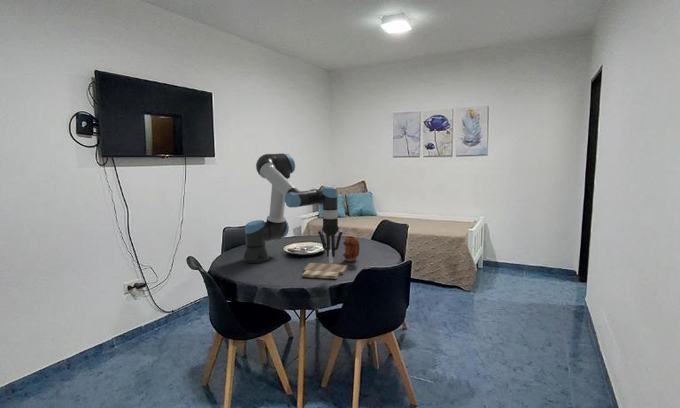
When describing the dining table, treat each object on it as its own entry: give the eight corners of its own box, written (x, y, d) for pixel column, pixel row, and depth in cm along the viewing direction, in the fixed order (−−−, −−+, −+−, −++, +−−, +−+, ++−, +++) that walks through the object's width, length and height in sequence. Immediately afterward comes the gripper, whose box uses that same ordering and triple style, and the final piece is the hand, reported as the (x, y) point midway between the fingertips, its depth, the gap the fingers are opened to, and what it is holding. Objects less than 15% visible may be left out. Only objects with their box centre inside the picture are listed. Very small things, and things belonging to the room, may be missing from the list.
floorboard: (303, 272, 202) (303, 269, 202) (309, 265, 214) (309, 262, 214) (343, 274, 198) (343, 272, 197) (347, 267, 209) (347, 264, 209)
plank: (302, 276, 194) (302, 274, 194) (306, 272, 201) (306, 270, 201) (336, 278, 190) (336, 276, 190) (339, 274, 198) (339, 272, 198)
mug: (341, 259, 225) (340, 235, 223) (353, 257, 228) (353, 233, 226) (351, 266, 212) (351, 240, 209) (364, 264, 215) (364, 238, 213)
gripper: (315, 218, 185) (316, 264, 189) (341, 219, 183) (342, 265, 186) (319, 216, 193) (320, 260, 196) (344, 216, 190) (344, 261, 193)
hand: (331, 262), depth 191 cm, fingers closed
